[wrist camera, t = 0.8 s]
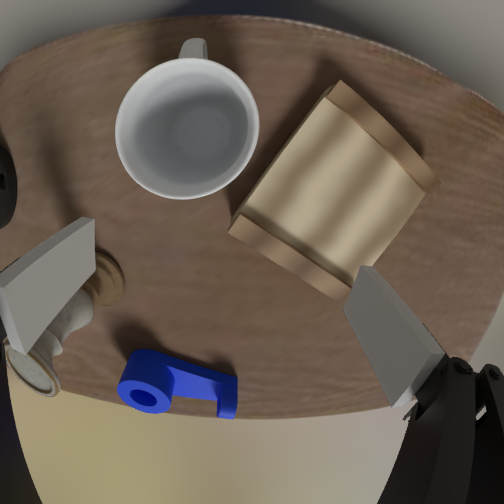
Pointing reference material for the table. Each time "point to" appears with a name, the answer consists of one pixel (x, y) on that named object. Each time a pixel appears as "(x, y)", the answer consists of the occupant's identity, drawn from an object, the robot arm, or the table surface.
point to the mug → (187, 126)
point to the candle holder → (66, 327)
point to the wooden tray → (334, 193)
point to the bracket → (173, 383)
